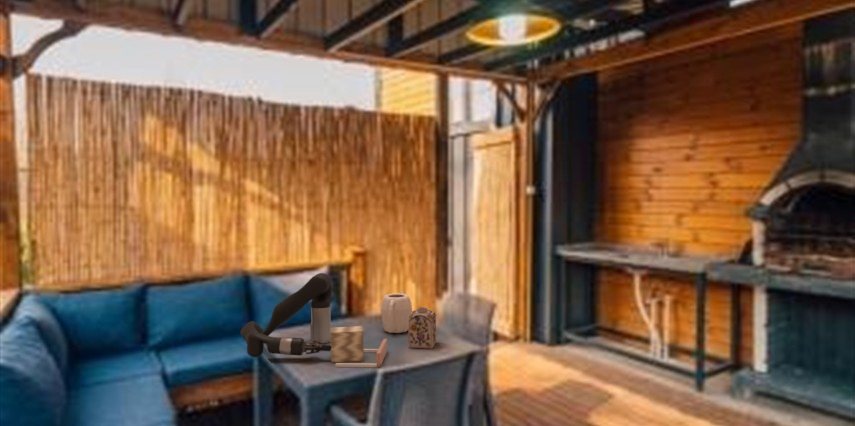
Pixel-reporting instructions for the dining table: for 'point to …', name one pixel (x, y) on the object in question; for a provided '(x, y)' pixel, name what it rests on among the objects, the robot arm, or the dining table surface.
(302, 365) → the dining table surface
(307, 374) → the dining table surface
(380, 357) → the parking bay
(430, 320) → the decorative jar
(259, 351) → the robot arm
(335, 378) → the dining table surface
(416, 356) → the dining table surface
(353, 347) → the wooden block
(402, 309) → the beige pitcher
